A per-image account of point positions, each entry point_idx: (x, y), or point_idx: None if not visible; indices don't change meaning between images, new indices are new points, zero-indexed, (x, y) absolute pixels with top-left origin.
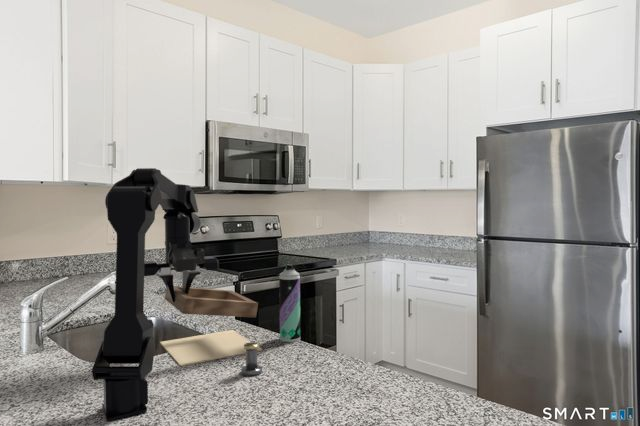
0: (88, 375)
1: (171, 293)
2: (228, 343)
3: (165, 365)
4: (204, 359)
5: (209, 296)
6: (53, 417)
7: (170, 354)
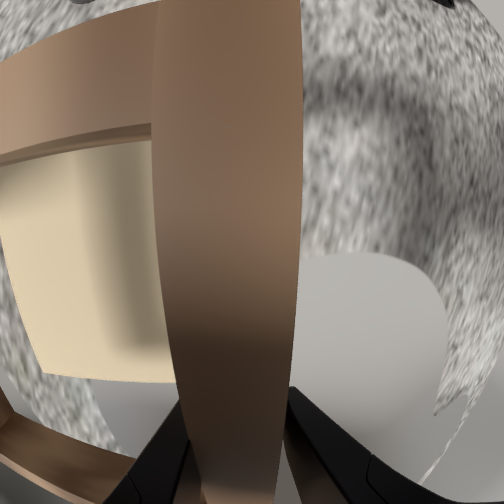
0: (465, 205)
1: (333, 431)
2: (55, 255)
3: None
4: None
5: (55, 457)
6: (499, 42)
7: None
